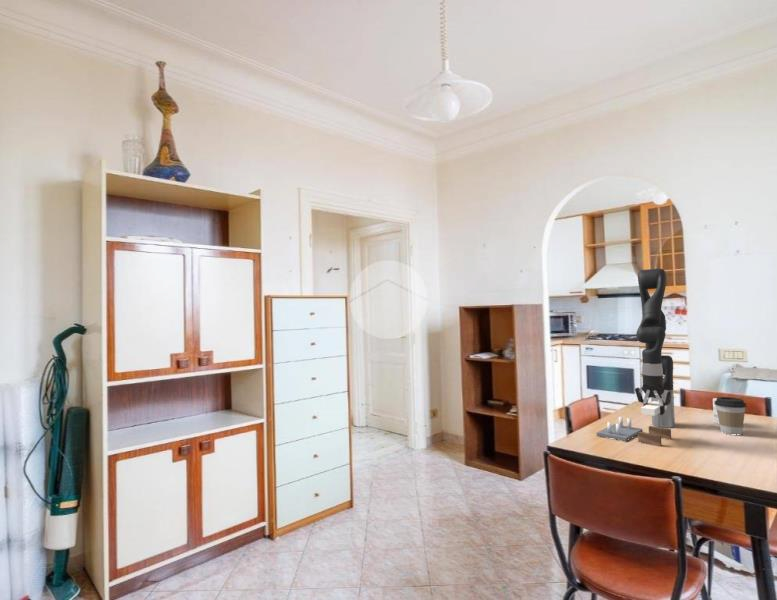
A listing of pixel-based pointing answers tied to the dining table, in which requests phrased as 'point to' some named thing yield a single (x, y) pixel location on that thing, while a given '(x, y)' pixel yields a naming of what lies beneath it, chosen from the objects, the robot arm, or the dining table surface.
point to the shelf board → (651, 408)
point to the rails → (654, 435)
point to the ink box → (715, 412)
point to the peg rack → (619, 430)
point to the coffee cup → (730, 414)
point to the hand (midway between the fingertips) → (654, 413)
